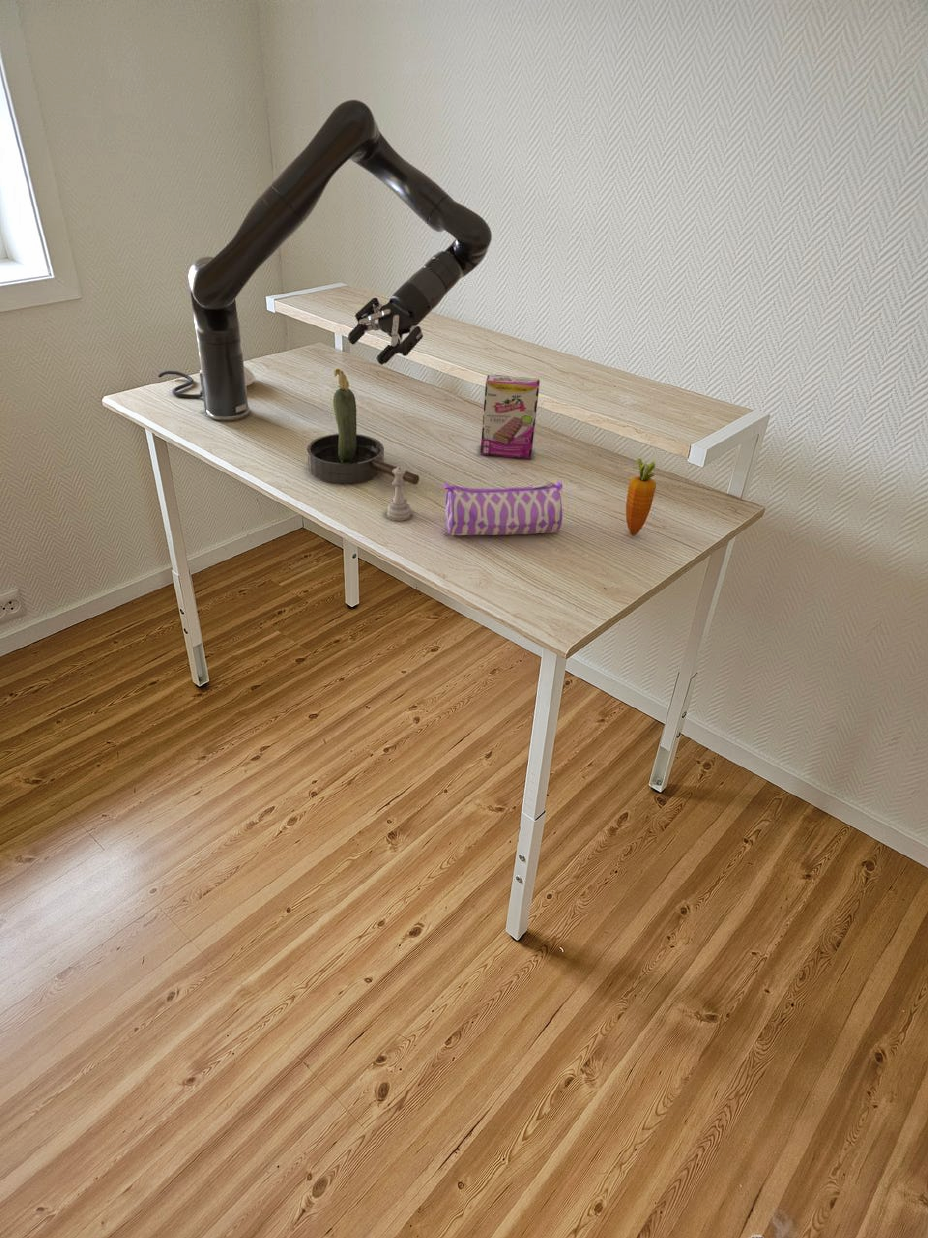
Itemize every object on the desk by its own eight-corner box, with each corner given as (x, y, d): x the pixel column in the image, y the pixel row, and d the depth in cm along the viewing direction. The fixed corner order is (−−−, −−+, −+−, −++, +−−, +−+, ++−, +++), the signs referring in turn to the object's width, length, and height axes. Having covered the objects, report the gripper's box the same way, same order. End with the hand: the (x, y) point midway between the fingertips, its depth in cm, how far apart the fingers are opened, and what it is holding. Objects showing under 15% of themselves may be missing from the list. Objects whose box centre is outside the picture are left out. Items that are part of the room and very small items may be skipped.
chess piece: (384, 511, 156) (383, 462, 150) (406, 508, 157) (406, 459, 151) (391, 522, 152) (390, 472, 146) (413, 519, 154) (414, 469, 148)
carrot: (616, 528, 154) (629, 453, 146) (642, 528, 155) (657, 454, 146) (623, 542, 150) (637, 465, 142) (649, 542, 151) (665, 466, 142)
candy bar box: (479, 455, 178) (484, 381, 169) (481, 446, 182) (486, 373, 173) (531, 460, 177) (539, 385, 168) (532, 450, 182) (540, 377, 172)
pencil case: (552, 515, 157) (558, 470, 152) (567, 540, 150) (574, 493, 145) (438, 522, 153) (439, 475, 148) (447, 548, 146) (449, 499, 140)
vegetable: (361, 464, 171) (359, 368, 159) (350, 472, 167) (347, 374, 156) (343, 459, 172) (339, 363, 160) (331, 467, 169) (327, 370, 157)
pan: (292, 469, 168) (290, 449, 166) (345, 447, 179) (344, 427, 176) (347, 493, 161) (347, 471, 158) (399, 467, 171) (399, 447, 169)
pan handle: (370, 469, 164) (369, 460, 163) (376, 466, 165) (376, 457, 164) (412, 486, 159) (412, 476, 158) (419, 482, 160) (419, 473, 159)
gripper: (389, 267, 168) (334, 322, 165) (439, 299, 162) (383, 356, 160) (399, 293, 175) (346, 346, 172) (447, 324, 169) (393, 379, 167)
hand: (364, 351), depth 166 cm, fingers open, 8 cm apart
